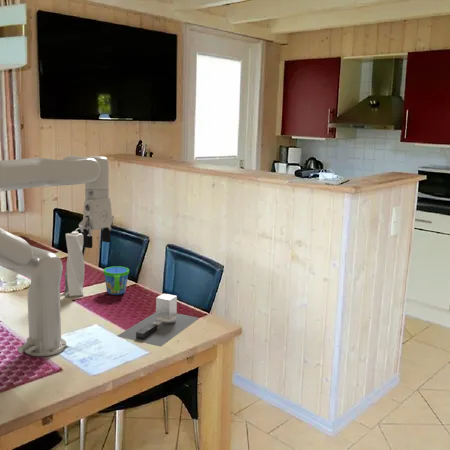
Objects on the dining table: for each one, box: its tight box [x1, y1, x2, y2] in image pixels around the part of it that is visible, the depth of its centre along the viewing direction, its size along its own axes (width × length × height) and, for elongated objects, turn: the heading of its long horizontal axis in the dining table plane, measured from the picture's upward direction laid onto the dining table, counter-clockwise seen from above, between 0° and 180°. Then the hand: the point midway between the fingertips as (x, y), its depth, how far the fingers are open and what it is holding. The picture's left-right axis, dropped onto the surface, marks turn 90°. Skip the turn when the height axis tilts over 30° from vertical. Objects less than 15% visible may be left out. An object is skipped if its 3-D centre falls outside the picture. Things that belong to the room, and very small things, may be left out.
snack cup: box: [103, 265, 130, 296], centre depth 216 cm, size 16×10×10 cm
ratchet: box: [136, 315, 176, 340], centre depth 179 cm, size 21×7×7 cm, turn 157°
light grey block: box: [155, 293, 178, 319], centre depth 185 cm, size 5×5×7 cm
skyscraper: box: [64, 227, 85, 298], centre depth 210 cm, size 8×8×28 cm
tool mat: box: [117, 311, 200, 347], centre depth 181 cm, size 28×17×1 cm, turn 157°
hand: (97, 244), depth 173 cm, fingers open, 9 cm apart
